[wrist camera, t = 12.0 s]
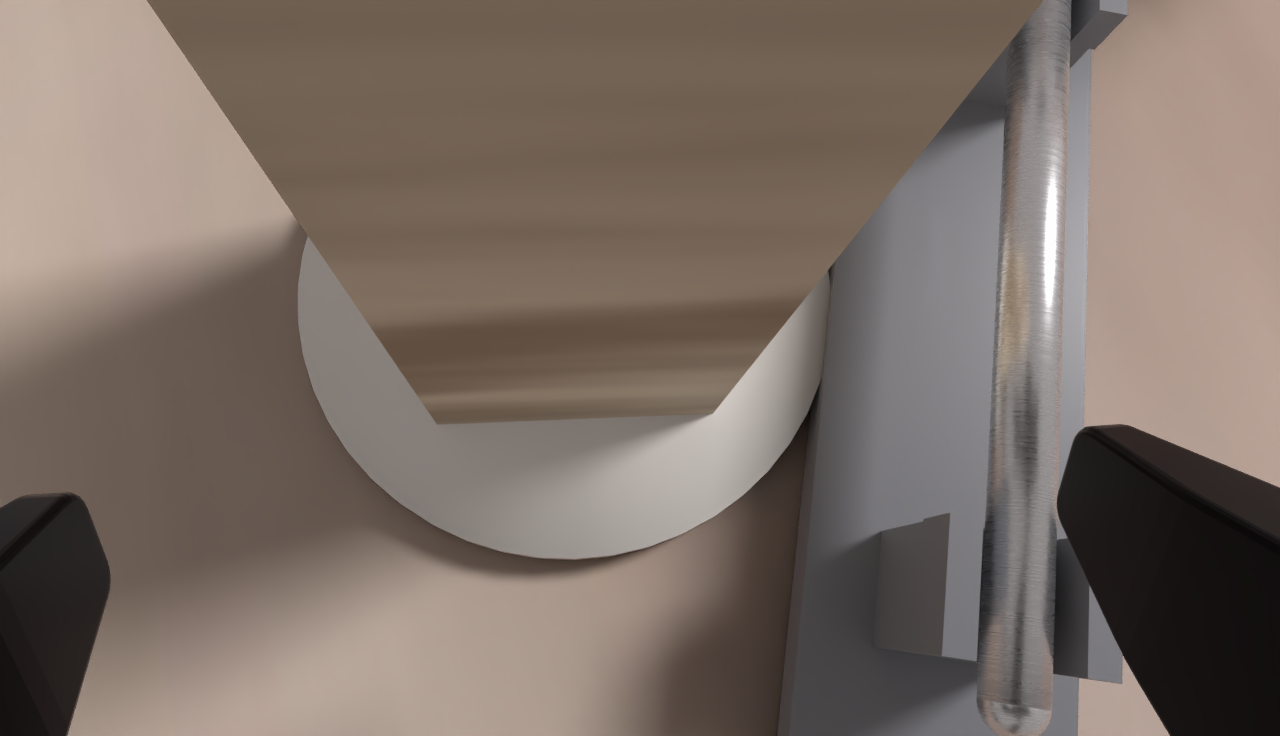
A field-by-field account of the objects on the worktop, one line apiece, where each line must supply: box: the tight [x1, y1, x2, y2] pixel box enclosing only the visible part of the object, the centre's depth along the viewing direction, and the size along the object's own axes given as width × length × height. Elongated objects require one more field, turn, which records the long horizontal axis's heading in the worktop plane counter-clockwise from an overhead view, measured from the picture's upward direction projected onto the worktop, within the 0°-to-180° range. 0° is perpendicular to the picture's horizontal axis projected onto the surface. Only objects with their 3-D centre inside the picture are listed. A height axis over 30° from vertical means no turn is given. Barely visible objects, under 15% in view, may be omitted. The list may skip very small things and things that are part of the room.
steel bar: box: [977, 0, 1071, 736], centre depth 15 cm, size 15×1×1 cm, turn 171°
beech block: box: [147, 0, 1043, 425], centre depth 11 cm, size 5×5×13 cm
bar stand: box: [777, 0, 1128, 736], centre depth 16 cm, size 18×5×4 cm, turn 171°
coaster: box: [298, 236, 831, 560], centre depth 17 cm, size 10×10×1 cm
